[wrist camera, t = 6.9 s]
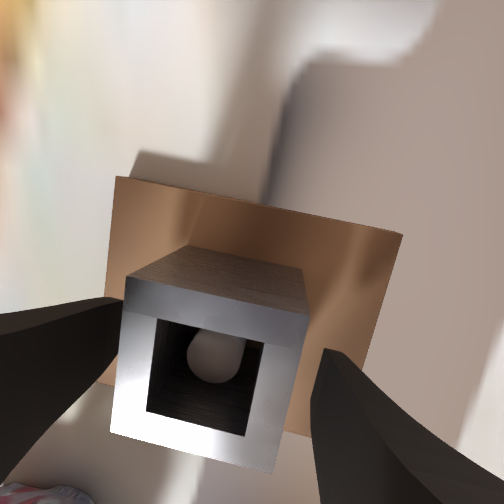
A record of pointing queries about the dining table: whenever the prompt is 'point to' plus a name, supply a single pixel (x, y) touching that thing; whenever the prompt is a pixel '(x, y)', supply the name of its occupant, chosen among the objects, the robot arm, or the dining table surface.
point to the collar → (180, 337)
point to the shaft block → (265, 249)
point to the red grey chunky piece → (42, 495)
